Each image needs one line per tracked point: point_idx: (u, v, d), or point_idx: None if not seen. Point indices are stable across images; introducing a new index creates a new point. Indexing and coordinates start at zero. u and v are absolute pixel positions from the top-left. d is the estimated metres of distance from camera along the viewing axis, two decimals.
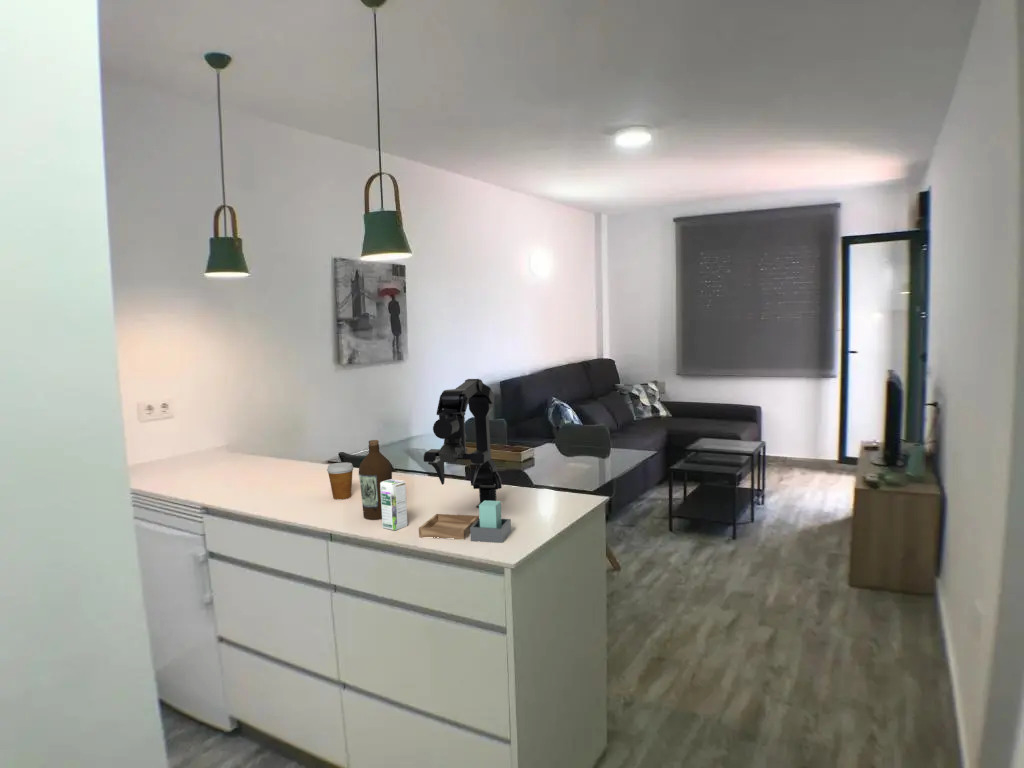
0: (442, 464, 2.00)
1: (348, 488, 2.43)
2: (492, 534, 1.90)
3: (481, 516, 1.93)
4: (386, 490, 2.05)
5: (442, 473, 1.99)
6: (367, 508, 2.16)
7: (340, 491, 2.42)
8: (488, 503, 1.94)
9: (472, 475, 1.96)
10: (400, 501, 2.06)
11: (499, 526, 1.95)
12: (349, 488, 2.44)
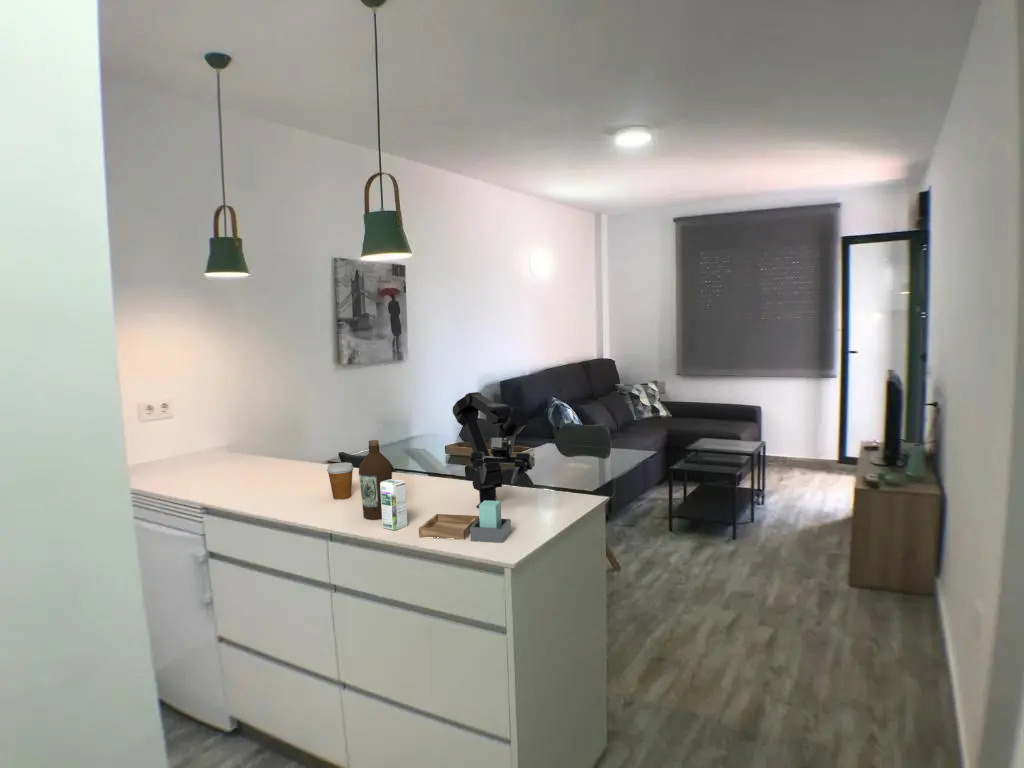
0: (485, 470, 2.06)
1: (348, 488, 2.43)
2: (492, 534, 1.90)
3: (481, 516, 1.93)
4: (386, 490, 2.05)
5: (483, 475, 2.03)
6: (367, 508, 2.16)
7: (340, 491, 2.42)
8: (488, 503, 1.94)
9: (514, 473, 2.00)
10: (400, 501, 2.06)
11: (499, 526, 1.95)
12: (349, 488, 2.44)
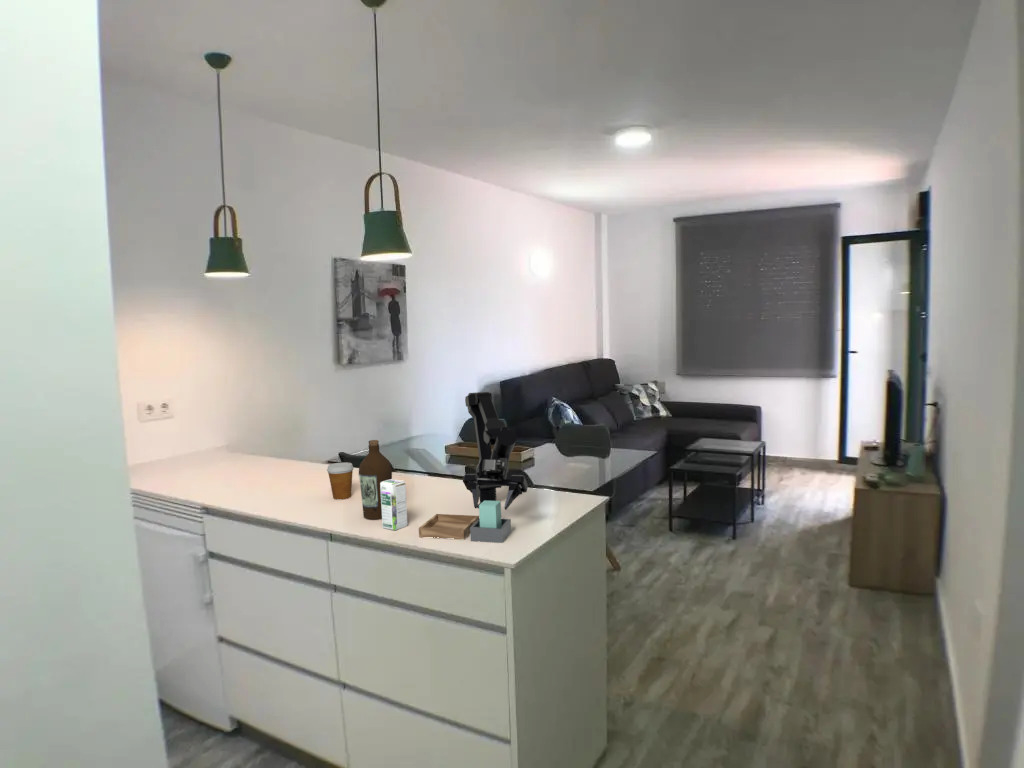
0: (478, 492, 2.00)
1: (348, 488, 2.43)
2: (492, 534, 1.90)
3: (481, 516, 1.93)
4: (386, 490, 2.05)
5: (477, 498, 1.98)
6: (367, 508, 2.16)
7: (340, 491, 2.42)
8: (488, 503, 1.94)
9: (508, 497, 1.94)
10: (400, 501, 2.06)
11: (499, 526, 1.95)
12: (349, 488, 2.44)
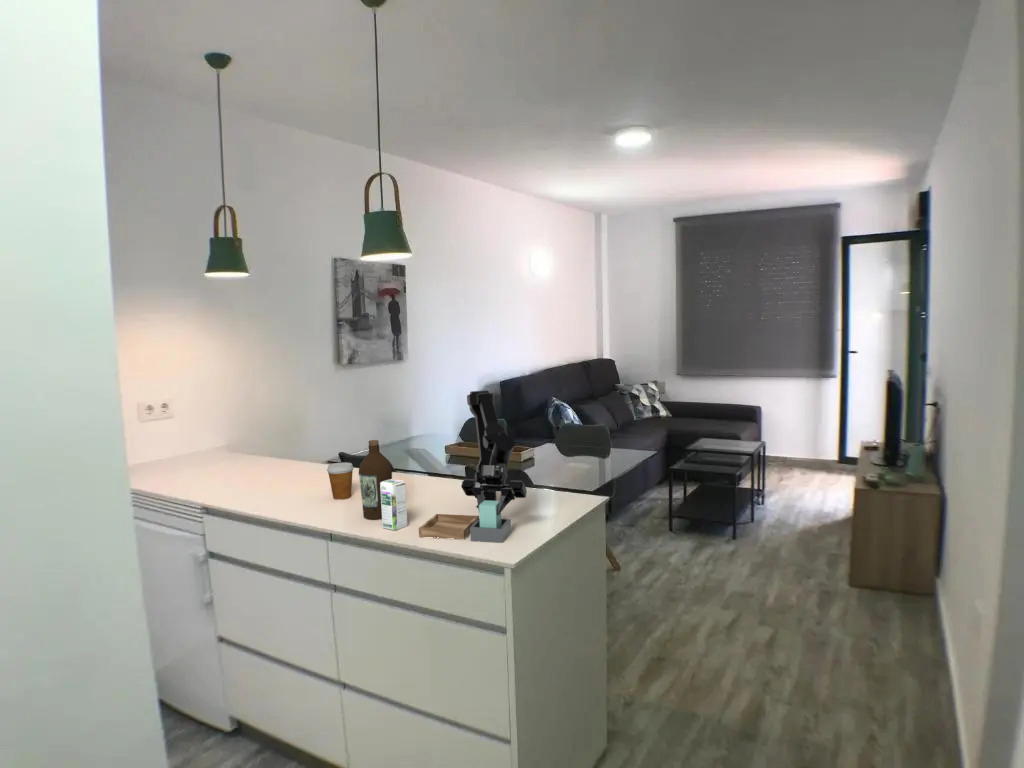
0: (483, 498, 1.98)
1: (348, 488, 2.43)
2: (492, 534, 1.90)
3: (481, 516, 1.93)
4: (386, 490, 2.05)
5: None
6: (367, 508, 2.16)
7: (340, 491, 2.42)
8: (488, 503, 1.94)
9: (500, 502, 1.93)
10: (400, 501, 2.06)
11: (499, 526, 1.95)
12: (349, 488, 2.44)
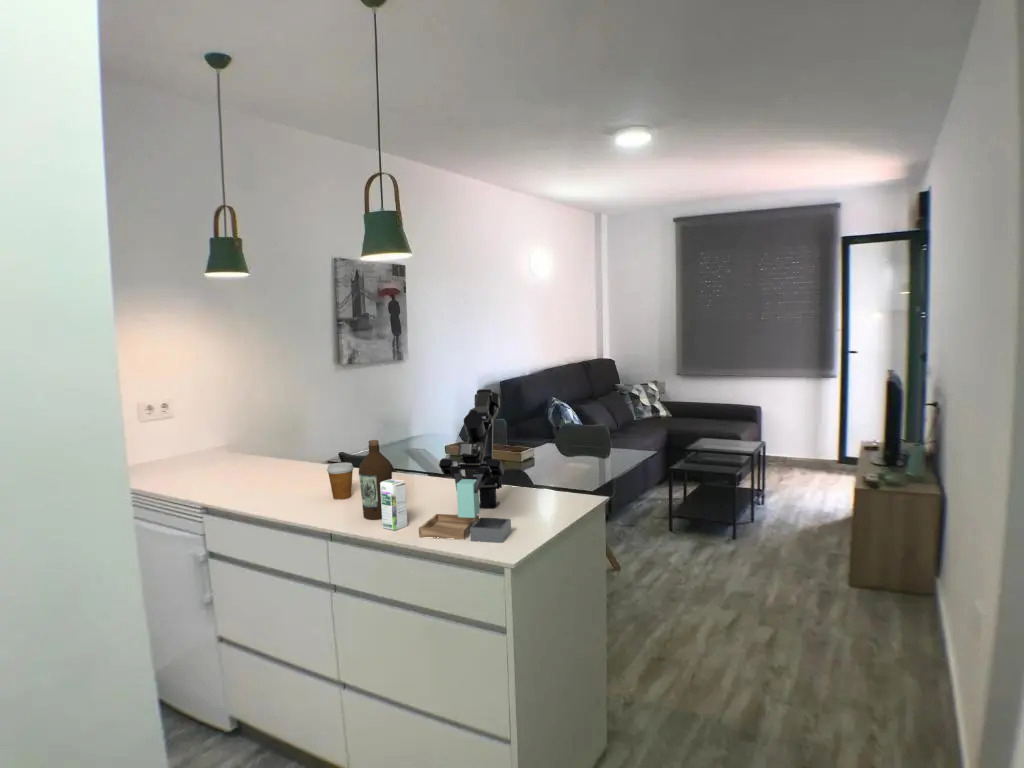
0: (461, 477, 2.00)
1: (348, 488, 2.43)
2: (492, 534, 1.90)
3: (458, 494, 1.94)
4: (386, 490, 2.05)
5: None
6: (367, 508, 2.16)
7: (340, 491, 2.42)
8: (465, 481, 1.95)
9: (478, 480, 1.95)
10: (400, 501, 2.06)
11: (477, 504, 1.96)
12: (349, 488, 2.44)
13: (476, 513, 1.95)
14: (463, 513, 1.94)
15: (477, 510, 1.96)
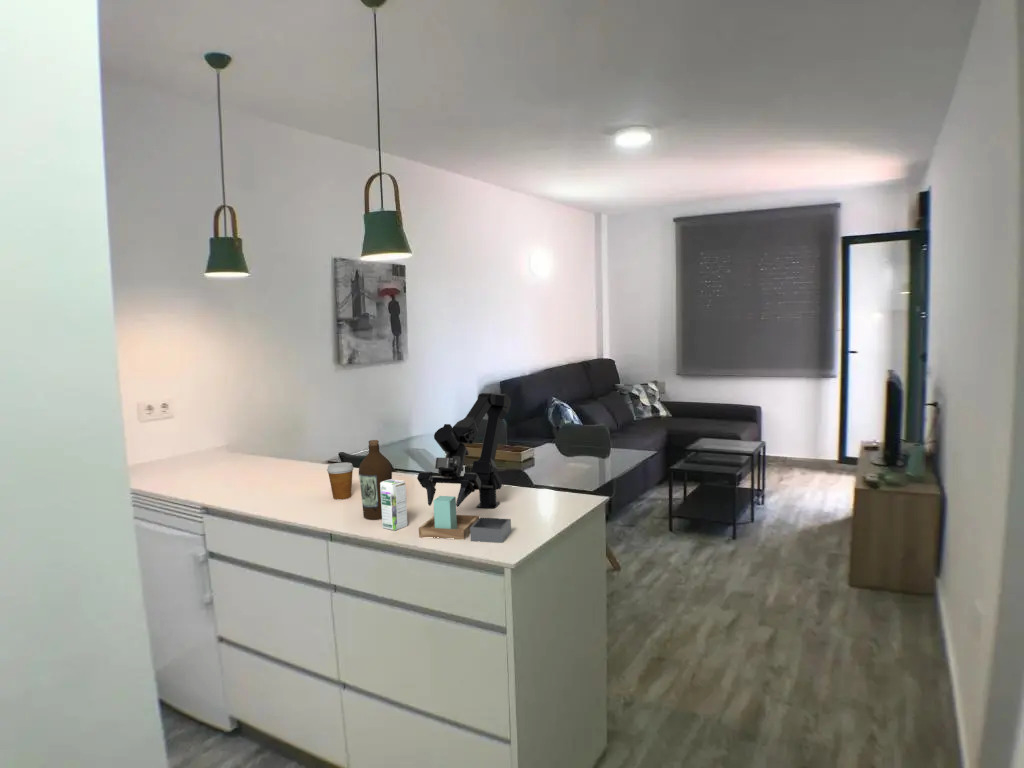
0: (433, 490, 2.02)
1: (348, 488, 2.43)
2: (492, 534, 1.90)
3: (435, 511, 1.97)
4: (386, 490, 2.05)
5: (431, 495, 2.00)
6: (367, 508, 2.16)
7: (340, 491, 2.42)
8: (442, 498, 1.98)
9: (460, 494, 1.97)
10: (400, 501, 2.06)
11: (454, 521, 1.98)
12: (349, 488, 2.44)
13: None
14: None
15: (454, 527, 1.99)
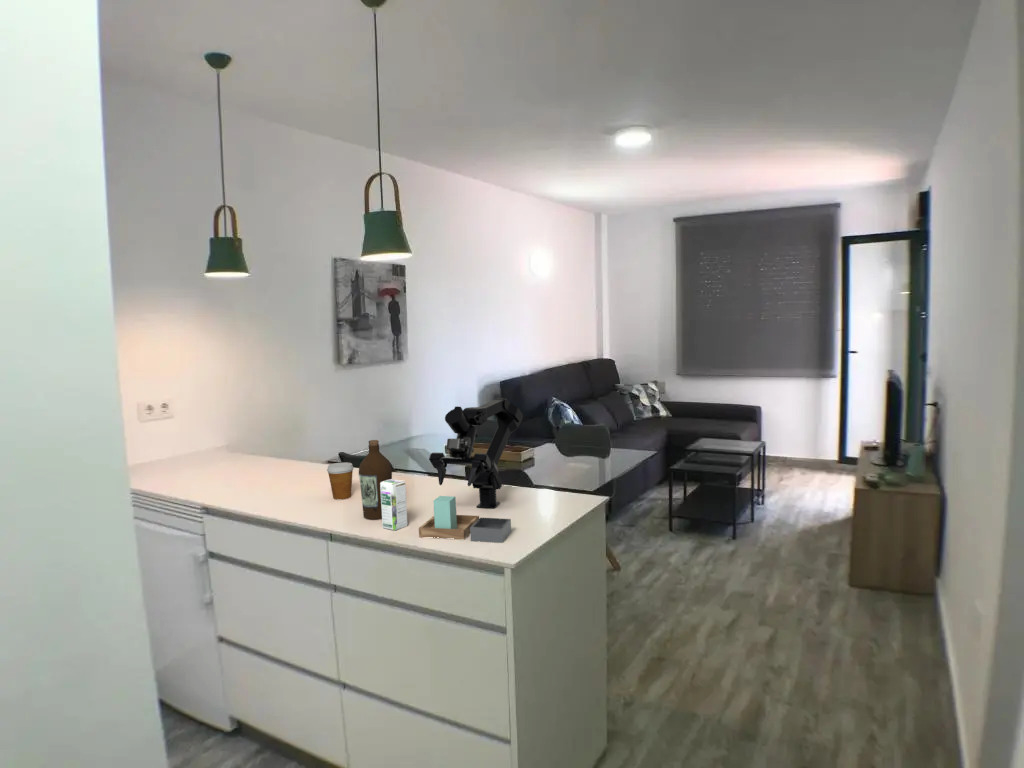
0: (444, 470, 2.09)
1: (348, 488, 2.43)
2: (492, 534, 1.90)
3: (435, 511, 1.97)
4: (386, 490, 2.05)
5: (442, 475, 2.06)
6: (367, 508, 2.16)
7: (340, 491, 2.42)
8: (442, 498, 1.98)
9: (471, 474, 2.03)
10: (400, 500, 2.06)
11: (454, 521, 1.98)
12: (349, 488, 2.44)
13: None
14: None
15: (454, 527, 1.99)
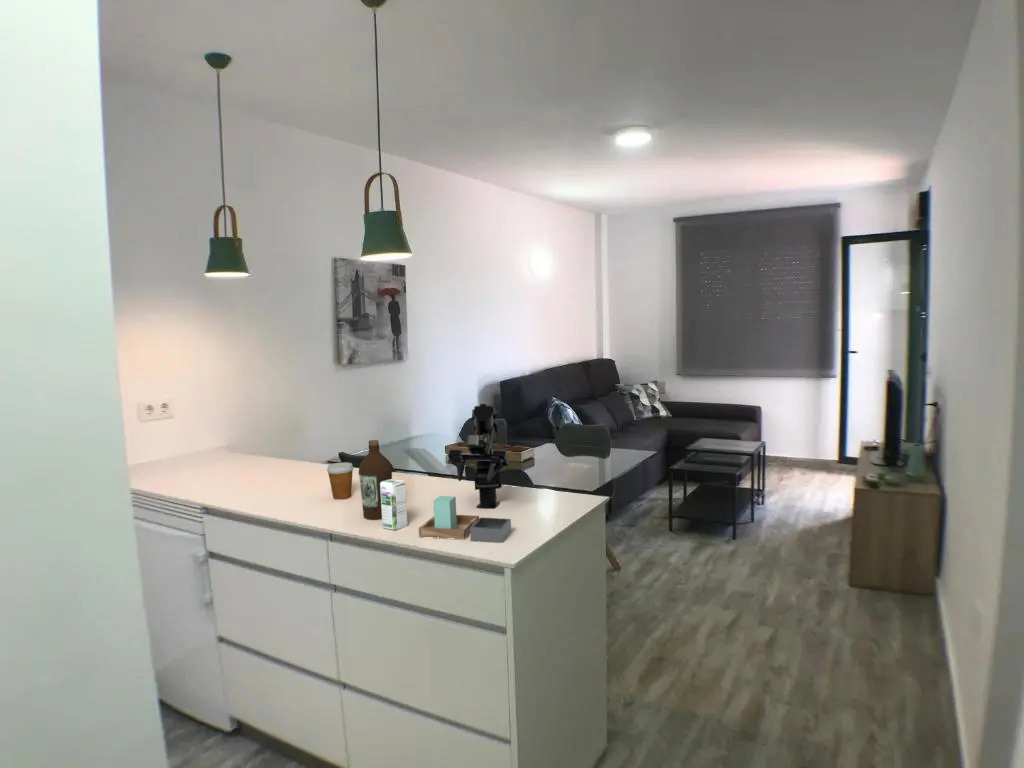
0: (463, 466, 2.12)
1: (348, 488, 2.43)
2: (492, 534, 1.90)
3: (435, 511, 1.97)
4: (386, 490, 2.05)
5: (461, 471, 2.10)
6: (367, 508, 2.16)
7: (340, 491, 2.42)
8: (442, 498, 1.98)
9: (490, 470, 2.06)
10: (400, 500, 2.06)
11: (454, 521, 1.98)
12: (349, 488, 2.44)
13: None
14: None
15: (454, 527, 1.99)
